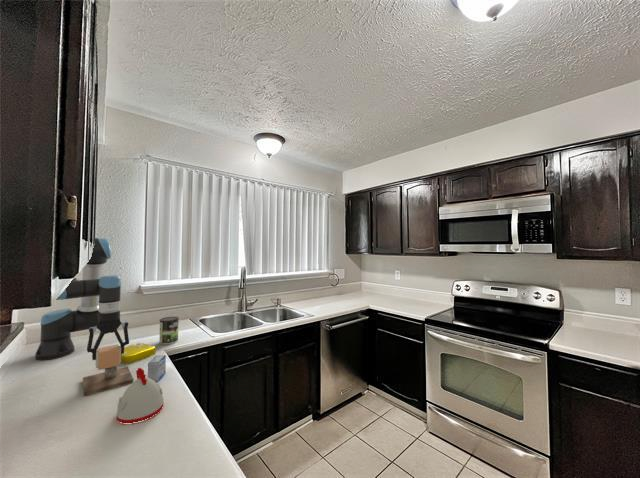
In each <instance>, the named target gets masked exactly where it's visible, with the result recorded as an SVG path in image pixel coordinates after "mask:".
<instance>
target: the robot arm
mask: <svg viewBox="0 0 640 478" xmlns="http://www.w3.org/2000/svg"><path fill="white" fill-rule="evenodd" d="M94 238H95V245H94V248H93V253H92V257H91V259H90V260H89V262H88V263H87V265H86V266H85V267H84V268H83V267H82V278H81V280H79V278H78V276H77V277H76V278H74V279H73V280H72V281H71V283H70V284H69V286H68V287H67V288H66V289H65V291H64V292H63V293H62V294H61V295H60V296H59V297H58V298H57V299H56V300H55V301H59V300H61V301H62V300H70V299H78V298H80V304H78V305H77V308H76V310H72V309H71V308H63V309H61V308H60V309H56V310H53V311H49V312H46V313H45V314H43V315H42V316H41V319H40V321H41V322H40V341H39V342H40V343H39V345H38V348H37V349H36V352H35V354H34V355H35V356H34V358H35V360H37V361H46V360H54V359H58V358H62V357H66V356H68V355H70V354H73V353H74V352H75V345H74V342H73V340H72V337H71V334H72V333H75V332H81V331H87V330H88V331H89V336H88V340H87V347H86V351H87V353H92V354H91V359H92V361H95V369H98V354H99V352H98V348H100V347H99V346H100V345H101V342H102V340H103V338H104V336H105V335H106V334H109V333H111V334H113V333H114V335H115V337H116V340H117V341H118V343H119V345H118V346H119V348H120V359H119V364H120V363H121V354H124V347H126V346H127V345H129V344H130V338H129V332H128V331H129V330H128V329H129V328H128V326H129V322H128V321H121V311H120V310H121V290H122V289H121V288H122V287H121V286H122V281H121V276H120V275H116V274H115V275H104V276H103V271H104V265H106V264H107V262H108V260H110V259H111V258H112V251H111V250H112V249H111V244H110V242H109V241H110V240H108V239H107V238H99V237H94ZM120 326H121V327H122V328H123V335H124V341H123V340H122V338H121V335H120V333H119V332H118V329H119V328H120ZM96 330H98V331H99V335H98V336H97V339H96V342H95V343H94V346H93V340H94V334H95V332H96Z"/></svg>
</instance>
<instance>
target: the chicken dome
mask: <svg viewBox="0 0 640 478" xmlns="http://www.w3.org/2000/svg"><path fill="white" fill-rule="evenodd" d="M135 372H136V379H135V380H133V383H130V385H128V387H127V388H126V389H125V391H124V392H123V394H122V396H119V397H118V403H117V406H116V407H117V410H116V421H119V422H122V423H133V422H138V421H142V420H145V419H147V418H150V417H152V416H153V415H155V414H157V413H158V412H159V411H160V410H161V409H162V407H163V408H164V396H163V388H162V387H161V386H160V384H159V383H157V382H155V381H153V380H152V379H150V378H148V376H146V373H145V370H144V369H143V368H141V367H138V368H137V370H136V371H135ZM162 410H163V409H162ZM162 410H161V411H162ZM159 413H160V412H159ZM159 413H158V414H159ZM158 414H157V415H158ZM152 418H153V417H152ZM119 422H118V423H119Z"/></svg>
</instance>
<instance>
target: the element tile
mask: <svg viewBox="0 0 640 478" xmlns="http://www.w3.org/2000/svg"><path fill="white" fill-rule="evenodd" d="M154 355H156V346H155V345H151V344H147V343H142V342H136V343H133V344H131V345H128V346H127V345H126V346H124V354H121V362H120V363H121V364H124V365H128V364H133V363H136V362H138V361H141V360H143V359H146V358H148V357H152V356H154Z"/></svg>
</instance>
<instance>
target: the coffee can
mask: <svg viewBox="0 0 640 478" xmlns="http://www.w3.org/2000/svg"><path fill="white" fill-rule="evenodd" d="M179 318H180V317H179V316H165V317H162V318H160V319H159V344H160V345H171V344H175V343H177V342H178V341H179Z"/></svg>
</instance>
